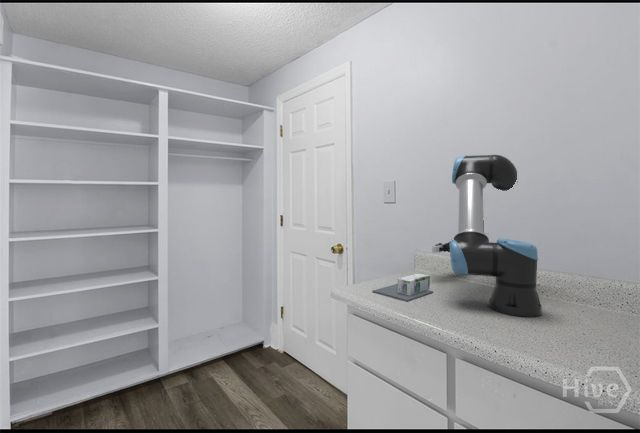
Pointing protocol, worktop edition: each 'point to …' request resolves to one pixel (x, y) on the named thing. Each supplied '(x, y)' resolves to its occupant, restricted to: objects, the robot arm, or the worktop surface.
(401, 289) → the syrup box
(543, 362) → the worktop surface
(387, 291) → the mat
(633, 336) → the worktop surface
